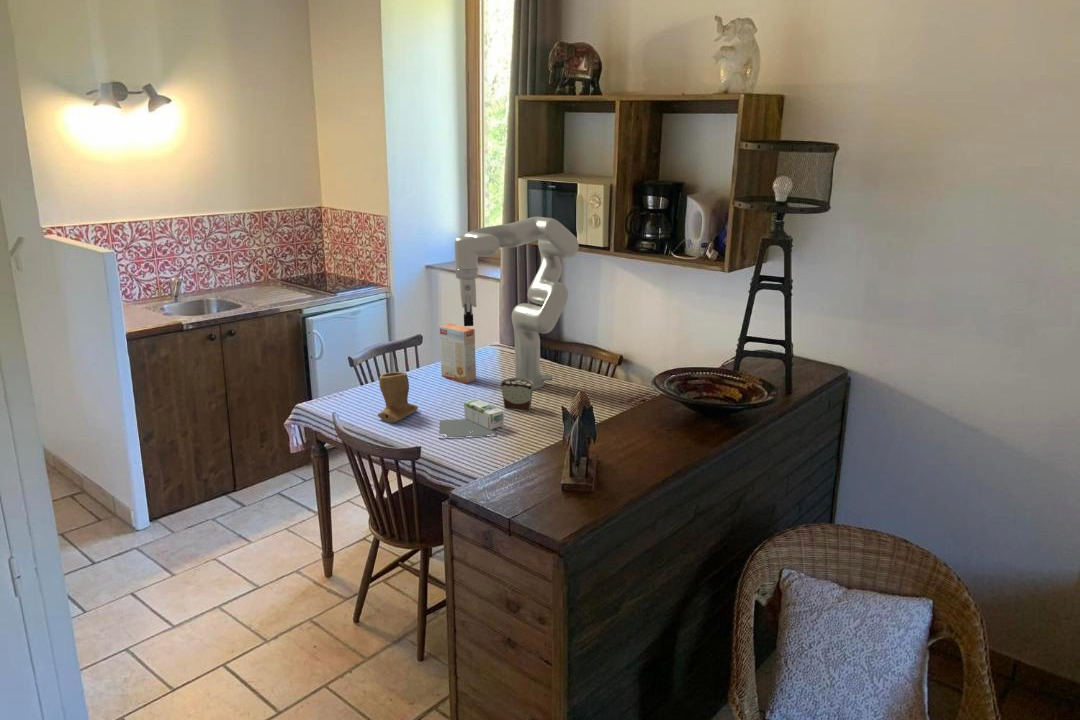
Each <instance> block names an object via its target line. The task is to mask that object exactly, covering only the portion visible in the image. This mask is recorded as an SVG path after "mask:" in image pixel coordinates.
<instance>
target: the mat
mask: <svg viewBox="0 0 1080 720" xmlns="http://www.w3.org/2000/svg"><path fill="white" fill-rule="evenodd" d="M438 429H439V431H438V434H446V435H447V437H466V436H487V435H491V434H494V435H496V428H495V429H492V430H490V429H488V428H485V427H483V426H481V425H479V424H477V423H475V422H472V421H470V420H468V419H466V418H462V419H461V418H460V419H459V418H458V419H456V418H455V419H440V420H439V428H438ZM469 431H470V432H471V433H470V432H469ZM472 431H473V432H472ZM443 436H444V435H443ZM496 436H497V435H496ZM444 437H445V436H444Z"/></svg>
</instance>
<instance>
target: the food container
mask: <svg viewBox="0 0 1080 720" xmlns="http://www.w3.org/2000/svg"><path fill="white" fill-rule="evenodd" d="M499 387H500V388H501V390H502V400H503V408H507V409H506V410H512V409H516V411H520V410H525V411H524V412H529V411H530V412H531V406H532V397H533V396H532V395H533V391H534V385H533V382H532V381H531V380H529V379H525V378H515V377H509V378H506V379H503V380H501V382H500V385H499ZM532 388H533V390H532Z"/></svg>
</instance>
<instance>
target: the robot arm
mask: <svg viewBox="0 0 1080 720" xmlns="http://www.w3.org/2000/svg"><path fill="white" fill-rule="evenodd" d="M536 241H537V245H538V246H537V247H538V249H539V254H540V265H539V268H538V270H537V271H536V272H537V273H536V274H535V275H534V278H533V280H532V282H531V284H530V285H529V288H528V290H527V299H528V300H529V301H530V302H532V303H534V304H532V303H525V302H524V303H518V304H517V305H516V306H515V307H514V308H513V310H512V312H511V322H512V323H511V324H512V327H513V333H514V370H515V371H514V374H515V376H514V378H525V379H529V380H531V381H532V382H533V385H534V390H535V391H536V390H538V389H541V388H543V387H544V386H545V382H546V381H547V382H549V381H550V382H551V381H553V379H554V378H553V375H549V374H542V373H541V337H540V334H549V333H550V332H551V331H553V329H554V328H555V326H556V324H557V323H558V321H559V318H560V316H561V315H562V313H563V311H564V309H565V306H566V305H567V301H568V299H569V291H568V288H567V286H566V285H565V284H564V283H562V282H559V280H560V278H561V275H562V272H563V271H562V270H563V267H562V262H561V259H560V257H561V258H564V259H565V258H566V259H567V258H568V259H569V258H572V257H574V256H576V254H577V253H578V251H579V247H580V246H579V245H580V244H579V240H578V239H577V236H575V234H574V233H572V232H571V231H570V230H569V229H568V228H567V227H566V226H564V224H562V223H561V222H560V221H559V220H557V219H555V218H552V217H544V216H531V217H528V218H524V219H521V220H518V221H513V222H510V223H505V224H503V223H502V224H498V225H491V226H485V227H480V228H477V229H473V230H470V231H468V232H466V233H465V234H464V235H462V236H457V237H456V238H455V239H454V259H455V260H454V261H455V262H454V264H455V278H456V279H458V280H459V293H460V300H461V307H462V308H463V327H473V326H474V313H473V307H474V308H476V307H477V286H476V285H477V283H476V279H477V278H479V266H478V265H479V261H478V260H479V259H478V258H479V257H484V258H485V257H486V258H487V257H493V256H494V255H496V254H498V252H499V251H500V248H518V247H520V246H523V245H527V244H530V243H533V242H536ZM540 305H542V306H540ZM534 390H533V388H532V391H534Z"/></svg>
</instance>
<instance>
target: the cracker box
mask: <svg viewBox="0 0 1080 720" xmlns="http://www.w3.org/2000/svg"><path fill="white" fill-rule="evenodd" d="M475 333H476V332H475V329H474V328H471V327H468V326H464V325H457V324H453V323H446V324H443V325H440V326H439V341H440V345H439V346H440V363H441V366H440V367H441V377H443V378H444V379H445V378H446V379H449V380H453V381H456V382H460V383H461V384H469V383H472V382H475V381H477V368H476V367H477V365H476V364H477V362H476V335H475Z"/></svg>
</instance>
